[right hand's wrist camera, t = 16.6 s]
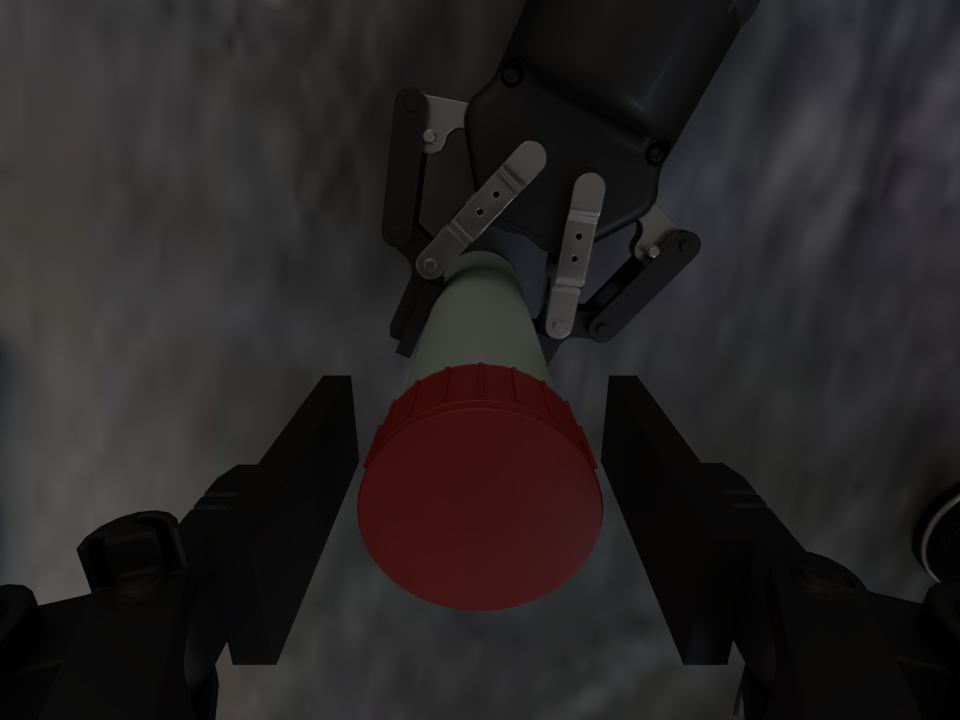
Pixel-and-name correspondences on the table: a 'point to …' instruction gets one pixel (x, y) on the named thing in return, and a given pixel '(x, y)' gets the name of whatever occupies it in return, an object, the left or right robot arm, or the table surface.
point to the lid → (480, 490)
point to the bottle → (480, 321)
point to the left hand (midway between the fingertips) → (455, 370)
